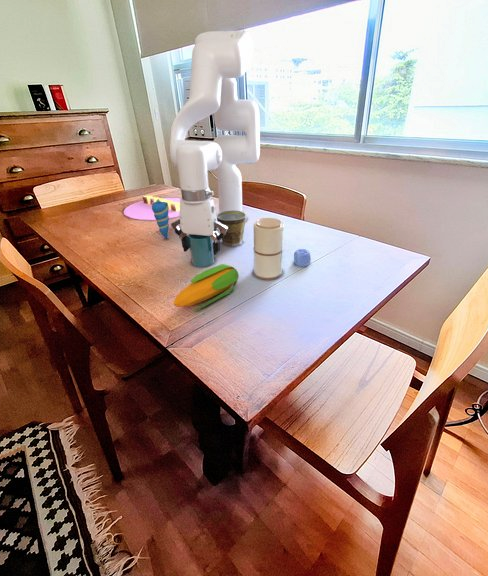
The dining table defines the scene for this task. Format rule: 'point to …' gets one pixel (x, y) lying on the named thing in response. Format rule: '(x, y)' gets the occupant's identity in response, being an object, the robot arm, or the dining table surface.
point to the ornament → (161, 217)
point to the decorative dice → (302, 257)
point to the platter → (145, 208)
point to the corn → (208, 286)
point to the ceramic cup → (232, 226)
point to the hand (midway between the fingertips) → (201, 251)
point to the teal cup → (201, 250)
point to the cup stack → (268, 248)
